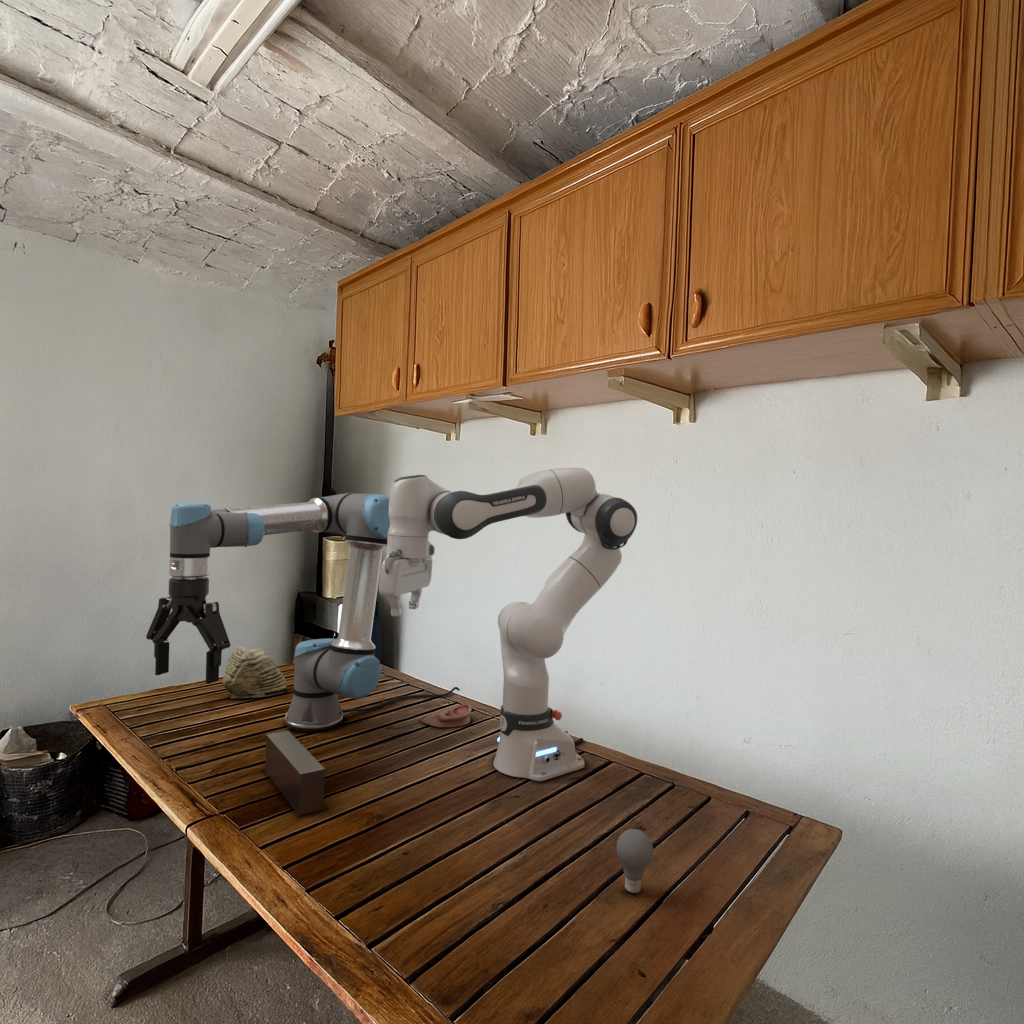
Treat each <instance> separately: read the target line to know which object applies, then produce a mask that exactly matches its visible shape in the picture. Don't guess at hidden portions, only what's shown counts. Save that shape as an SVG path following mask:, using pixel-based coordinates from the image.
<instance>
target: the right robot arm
mask: <svg viewBox="0 0 1024 1024" xmlns="http://www.w3.org/2000/svg"><path fill="white" fill-rule="evenodd" d="M389 497H390V499H389V519H390V528H389V531H388V539H387V548H386V557H385V559H384V560H383V561H382V562H381V567H380V574H379V582H378V593H379V595H380V596H381V597H388V598H387V599H388V603H389V607H390V615H391V617H399V616H401V615H402V606H401V604H400V601H401V596H403V595H405V594H408V593H410V600H409V601H408V609H409V610H417V609H418V608H420V607H419V606H420V599H421V596H422V592H423V589H424V588H427V587H429V586H430V583H431V580H432V573H433V556H434V555H435V551H436V548H435V545H433V544H432V543H431V542H430V540H429V536H430V535H429V534H430V532H436V533H438V534H441V535H445V536H447V537H449V538H450V539H451V538H452V539H454V540H466V539H469V538H472V537H473V536H475V535H476V534H478V533H479V532H480V531H482V530H483V529H484V528H486V527H487V526H489V525H492V524H495V523H499V522H504V521H507V520H511V519H512V520H513V519H516V518H520V517H526V518H533V519H534V518H535V519H538V518H541V519H542V518H550V517H555V516H559V515H565V517H566V520H567V522H568V524H569V525H570V526H571V528H573V529H574V530H575V531H577V532H578V533H581V534H583V535H584V536H583V539H582V542H581V543H580V545H579V547H578V548H577V549H576V550H575V551H573V552H572V553H571V554H570V555H569V556H568V557H567V558H566V559H565V560H564V561H563V562H562V563H561V564H560V565H559V566H558V567H557V568H556V569H555V570H554V571H553V572H552V573H551V574H550V575H549V576H548V577H547V578H546V579H545V581H544V586H543V588H542V589H541V591H540V592H539V594H538V595H537V597H536V598H535V599H534V601H533V602H532V603H529V602H527V601H514V602H510V603H507V604H506V605H504V606H503V607H502V609H501V610H500V611H499V614H498V616H497V626H498V630H499V639H500V652H501V653H500V654H501V661H502V673H503V681H502V683H503V687H502V688H503V689H502V705H501V706H500V712H499V713H500V714H499V731H500V732H499V733H500V734H499V737H497V749H496V752H495V756H494V760H493V762H492V765H493V767H494V769H495V770H496V771H498V772H500V773H501V774H504V775H507V776H508V777H509V776H510V777H515V778H521V779H528V780H531V781H535V782H545V781H547V780H550V779H553V778H557V777H561V776H562V775H566V774H569V773H572V772H576V771H578V770H581V769H584V768H585V765H586V764H585V759H584V758H583V757H582V756H581V755H580V754H578V753H577V752H576V746H577V745H579V744H581V743H582V742H583V741H584V738H583V737H580V738H578V739H577V740H574V739H573V737H572V736H571V734H570V733H569V732H568V731H567V730H564V729H563V728H562V727H560V725H558V724H557V723H555V721H560V720H561V719H562V717H563V714H562V712H561V711H559V710H558V709H552V708H551V707H550V706H549V690H550V675H549V674H550V673H549V671H548V668H547V664H546V659H549V658H552V657H554V656H555V655H556V654H557V653H558V652H559V651H560V649H561V648H562V646H563V643H564V639H565V638H564V637H565V634H566V632H567V630H568V629H569V627H570V625H571V624H572V622H573V621H574V619H575V617H576V616H577V615H578V613H579V612H580V611H581V610H582V608H583V607H584V606H586V605H587V603H588V602H589V601H590V600H591V599H592V598H593V597H595V595H596V594H597V593H598V592H600V590H601V589H602V588H603V587H604V586H605V585H606V583H608V581H609V580H610V578H611V577H612V576H613V575H614V574H615V572H616V571H617V569H618V568H619V566H620V564H621V563H622V559H623V554H622V553H623V552H622V551H621V548H623V547H625V546H626V545H627V543H628V541H629V539H630V538H632V536H633V535H634V532H635V530H636V527H637V524H638V513H637V510H636V508H635V507H634V506H633V505H632V504H631V503H630V502H628V501H627V500H625V499H624V498H621V497H616V496H613V495H611V494H606V493H600V492H598V491H597V487H596V481H595V479H594V476H593V475H592V473H591V472H590V471H589V470H587V469H585V468H582V467H558V468H549V469H544V470H540V471H536V472H534V473H531V474H528V475H525V476H524V477H523V476H522V477H521V478H520V480H519V481H518V483H517V485H516V487H514V488H511V489H506V490H502V491H501V490H500V491H497V492H492V493H487V494H478V493H475V492H474V493H473V492H471V491H466V490H456V491H451V490H449V489H447V488H444V487H442V486H440V485H439V484H437V483H435V482H434V481H433V480H432V479H430V478H429V477H428V475H426V474H415V475H407V476H400V477H399V478H396V479H395V480H394V481H393V482H392V485H391V488H390V493H389ZM554 719H555V721H554Z"/></svg>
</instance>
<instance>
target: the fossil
mask: <svg viewBox="0 0 1024 1024" xmlns="http://www.w3.org/2000/svg"><path fill="white" fill-rule="evenodd" d="M222 676H223V677H222V685H223V687H224V688H225V690H226V691H228V693H229V698H230V699H250V698H264V697H271V696H275V695H281V694H284V693H285V691H286V689H287V687H288V686H287V680H286V678H285V676H284V674H283V673H282V672H281V669H279V668H278V667H277V665H276V663H275V662H274V660H273V659H272V658H271V657H270V656H269V655H268V654H267V653H266V652H265V650H264V649H263V648H260V647H258V648H251V647H247V646H246V647H245V646H238V647H237V648H236V649H235V650H233V651H232V653H231V656H230V657H229V659H228V660H227V663H226V666H225V668H224V671H223V675H222Z"/></svg>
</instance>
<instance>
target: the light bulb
mask: <svg viewBox="0 0 1024 1024" xmlns="http://www.w3.org/2000/svg"><path fill="white" fill-rule="evenodd" d="M615 849H616V854H617V857H618V859H619V861H620V863H621V865H622V867H623V873H624V874H623V875H624V876H625V878H624V888H625V890H627V891H628V892H630V893H634V894H635V893H639V892H640V891H641V889H642V887H641V886H642V879H643V877H644V875H645V871H646V868H647V867H648V866H649V864H650V863H651V861H652V859H653V855H654V847H653V843H652V841H651V838H649V836H648V835H647V834H646V833H645V832H643V831H642V830H641V829H636V828H629V829H627V830H625V831H623V832H622V833H621V834H620V835H619V837H618V839H617V841H616V847H615Z"/></svg>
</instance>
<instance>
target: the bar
mask: <svg viewBox="0 0 1024 1024" xmlns="http://www.w3.org/2000/svg"><path fill="white" fill-rule="evenodd" d="M264 761H265V762H264V763H265V764H264V771H265V773H266V774H267V776H268V777H269V778H270V779H271V781H272V782H273V783H274V784H275V786H276V787H277V789H278V790H279V792H280V793H281V794H282V795H283V797H284V799H286V800H287V802H288V804H289V805H290V806H291V808H292V809H293V811H294V812H295V813H296V814H297V816H298V817H301V816H305V815H309V814H312V813H316V812H321V811H324V806H325V805H324V804H325V803H324V802H325V779H326V778H325V777H326V768H325V767H324V766H323V765H322V764H321V763H320V762H319V761H318V760H317V759H316V757H314V755H313V754H312V753H311V752H310V751H309V750H308V749H307V748H306V747H305V746H304V745H303V744H302V743H301V742H300V741H299V740H298V739H297V738H296V737H295V736H294V734H293V733H291V732H290V730H283V731H276V732H271V733H267V734H266V736H265V758H264Z"/></svg>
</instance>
